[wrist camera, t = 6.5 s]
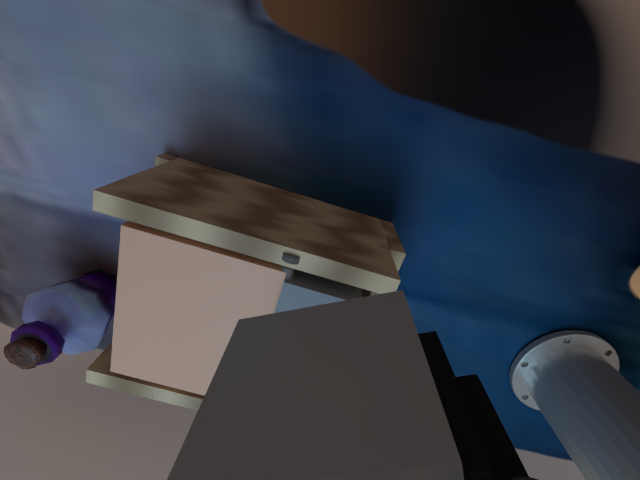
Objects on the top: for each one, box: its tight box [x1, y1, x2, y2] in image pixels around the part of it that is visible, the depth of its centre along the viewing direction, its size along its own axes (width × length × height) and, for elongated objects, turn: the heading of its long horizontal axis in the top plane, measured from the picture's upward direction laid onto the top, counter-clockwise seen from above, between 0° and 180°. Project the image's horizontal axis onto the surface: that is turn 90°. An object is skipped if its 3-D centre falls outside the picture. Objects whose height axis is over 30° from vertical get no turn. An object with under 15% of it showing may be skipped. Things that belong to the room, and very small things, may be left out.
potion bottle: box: [4, 269, 117, 369], centre depth 36 cm, size 9×9×12 cm
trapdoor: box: [110, 221, 362, 396], centre depth 28 cm, size 18×14×4 cm
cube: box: [167, 290, 464, 480], centre depth 9 cm, size 5×5×5 cm
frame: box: [86, 153, 406, 411], centre depth 33 cm, size 25×18×14 cm
